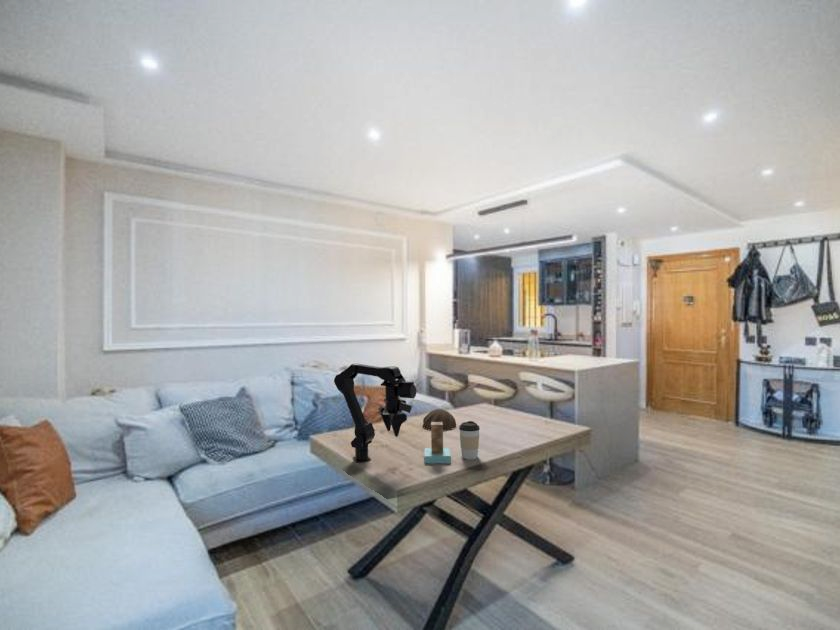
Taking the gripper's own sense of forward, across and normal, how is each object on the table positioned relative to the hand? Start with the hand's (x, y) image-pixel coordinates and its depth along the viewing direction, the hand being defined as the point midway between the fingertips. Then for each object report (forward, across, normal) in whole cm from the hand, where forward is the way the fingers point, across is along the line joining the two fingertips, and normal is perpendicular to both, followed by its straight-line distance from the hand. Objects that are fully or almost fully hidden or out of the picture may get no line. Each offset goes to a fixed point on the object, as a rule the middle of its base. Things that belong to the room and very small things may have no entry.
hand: (392, 433), depth 175 cm
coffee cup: (+13, -6, -34) cm, 37 cm away
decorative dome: (+14, +46, -45) cm, 66 cm away
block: (+10, -2, -20) cm, 22 cm away
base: (+13, -2, -20) cm, 24 cm away
